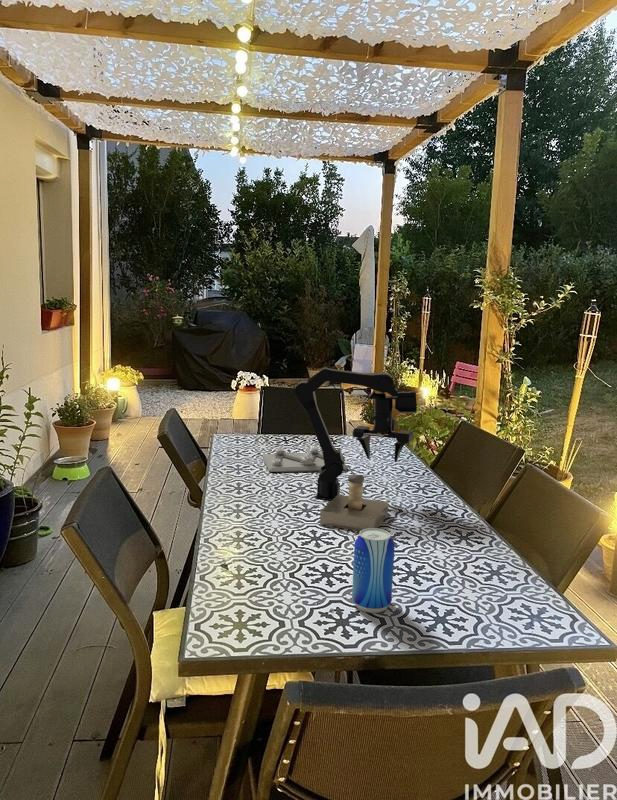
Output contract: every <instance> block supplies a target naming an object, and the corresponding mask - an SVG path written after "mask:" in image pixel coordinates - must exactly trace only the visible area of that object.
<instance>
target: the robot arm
mask: <svg viewBox="0 0 617 800" xmlns="http://www.w3.org/2000/svg"><path fill="white" fill-rule="evenodd" d="M327 382H333V383H340V384H348V385H354V386H355V385H356V386H362V387H365V388H368V389H371V390H373V391H372V392H371V393H370V394H369V395H368V399H369V400H373V401H374V403H373V404H374V406H373V407H374V408H373V409H374V411H373V412H374V413H373V416H372V420H373V428H372V429H371V427H370V426H369V425H368V426H367V425H358V426H356V427H354V428H353V429H352V438H356V441H358V442H359V443H360V445H361V447H362V449H363V451H364V454H365V456H366V458H367V459H368V460H369V459H370V458H371V444H370V443H371V437H378V438H379V437H380V438H388V439H395V440H396V442H395V444H394V463H397V462H398V460H399V457H400V454H401V452H402V450H403V448H404V446H406V445H407V444H409V443H411V442H412V441H413V440H414V435H415V434H414V432H413V431H412V430H404V429H400V430H399V431H398V432H397V430H398V423H399V421H397V420H396V419H394V418H395V417H394V414H393V410H395V411H397V412H398V414H417V408H418V407H417V406H418V403H417V392H416V391H413V390H412V391H399V390H398V388H396V386H395V385H394V379H393V377H392V375H391V374H390V373H388V372H385V371H383V372H382V371H379V372H364V373H363V372H358V371H357V372H356V371H350V370H349V371H348V370H343V369H342V370H341V369H335V368H330V367H322V368H321V369H320V370H319V371H318V372H316V373H315V374H314V375H312V376H311V377H309V378H308V379H307V380H300V381H299V382H298V383H297V384H296V386H295V388H294V393H293V394H294V396H295V398H296V399H297V401H298V403H299V405H300V406H301V407H302V408H303V409H304V411H305V412H306V414H307V416H308V419H309V422H310V424H311V427H312V429H313V432H314V434H315V437H316V440H317V442H318V443H319V446H320V447H319V448H320V449H321V452H322V453H323V459H324V464H325V465H324V466H323V467H321V468H320V471H318V473H319V474H318V477H317V483H316V485H317V487H316V490H317V491H316V495H315V496H314V498H316V499H319V500H326V501H332V500H333V499H334V498H335V497H336V496H337V495H341V493H340V491H341V483H340V482H339V481H340V479H339V478H338V477H340V476H341V475H342V474H343V472H344V471H343V469H344V464H345V463H346V462H345V461H346V458H345V457H344V456H343V454H342V450H341V449H342V448H341V447H340V448H338V449H337V448H336V447H335V446H334V444H333V442H332V439H331V437H330V434H329V432H328V429H327V426H326V425H325V422H324V419H323V418H322V414H321V412H320V410H319V407H318V403H317V396H316V390H317V389H319V388H320V387H322V386H323V385H324V384H325V383H327ZM387 394H389V395H387ZM393 403H394V404H393ZM393 405H394V409H393ZM345 465H346V464H345Z"/></svg>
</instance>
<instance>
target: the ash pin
mask: <svg viewBox="0 0 617 800" xmlns="http://www.w3.org/2000/svg"><path fill="white" fill-rule="evenodd" d="M347 480H348V496H349V500H348V509H353V510H360V511H362V498H363V490H364V489H363V487H364V481H365V476H363V475H361V474H349V475H348V476H347Z"/></svg>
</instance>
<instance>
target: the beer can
mask: <svg viewBox="0 0 617 800" xmlns="http://www.w3.org/2000/svg"><path fill="white" fill-rule="evenodd" d="M395 547H396V546H395V543H394V541H393V539H392V534H391V533H390V532H389V531H387V530H386V529H382V528H378V529H377V528H368V529H363V530H361V531H359V535H358V536H357V538H355V541H354V547H353V548H354V549H353V568H352V590H351V600H352V602H353V603H354V605H355V607H356V608H357V609H358V610H360V611H362V612H365V613H370V614H372V613H373V614H377V613H382V612H385V611H386V610H387V609H388V607H389V606H390V605H391V604H392V598H393V597H392V596H393V579H394V564H395Z"/></svg>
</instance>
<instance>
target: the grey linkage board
mask: <svg viewBox="0 0 617 800" xmlns="http://www.w3.org/2000/svg"><path fill="white" fill-rule="evenodd" d="M320 449H321V448H320ZM320 449H319V447H318V446H316V445H314V446H312V447H311V448H310V449H309V452H297V453H296V452H294V453H293V452H291V453H290V452H288V453H287V450H285V448H284V447H282V446H279V447H276V449H275V450H274V453H264V454H262V456H261V458H262V460H263V462H264V464H265V466H266V468H267V469H268V471H269V472H270V473H271V472H283V473H304V472H305V473H308V472H310V473H312V472H314V473H315V472H317V473H318V472H320V468H321V467H323V466H324V465H325V464H324V459H323V453H322V451H320ZM348 469H349V467H348V466H347V465H346V464H344V469H343V472H344V471H347V470H348Z"/></svg>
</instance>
